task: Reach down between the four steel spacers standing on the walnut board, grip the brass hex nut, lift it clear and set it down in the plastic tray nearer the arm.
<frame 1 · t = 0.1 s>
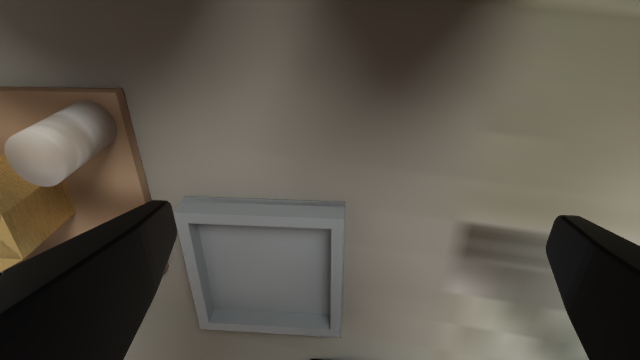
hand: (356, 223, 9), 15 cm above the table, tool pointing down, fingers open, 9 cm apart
tray: (269, 261, 29), on the table
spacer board: (38, 185, 28), on the table
nut: (30, 191, 27), point 1 cm above the table, touching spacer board
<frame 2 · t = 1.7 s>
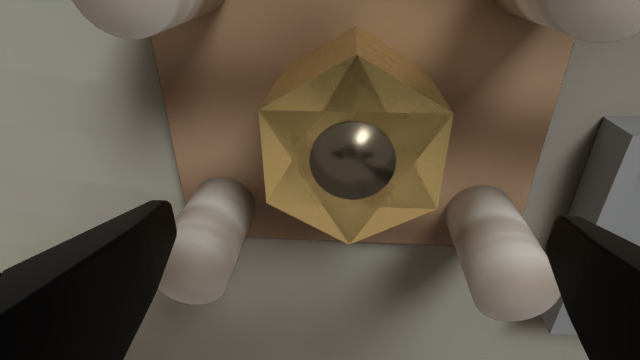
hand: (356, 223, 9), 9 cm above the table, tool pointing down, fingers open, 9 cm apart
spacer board: (352, 100, 17), on the table
nut: (352, 107, 16), point 1 cm above the table, touching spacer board
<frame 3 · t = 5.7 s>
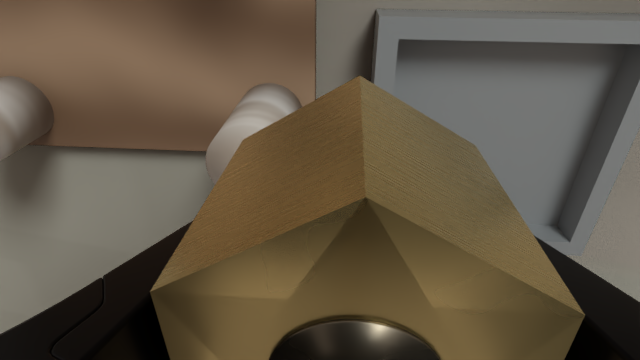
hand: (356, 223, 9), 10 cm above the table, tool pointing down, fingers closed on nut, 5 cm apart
tray: (481, 134, 19), on the table
nut: (354, 199, 10), point 9 cm above the table, touching gripper
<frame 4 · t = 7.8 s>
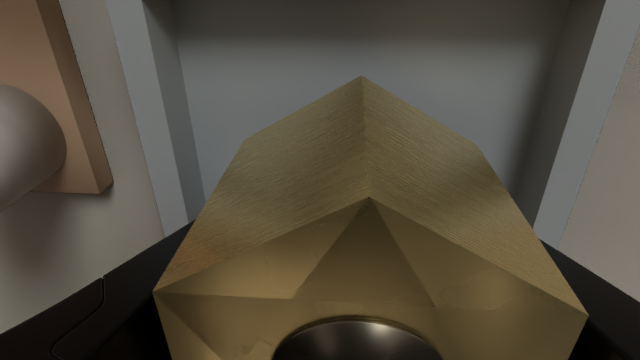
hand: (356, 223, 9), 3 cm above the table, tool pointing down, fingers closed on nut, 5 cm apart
tray: (355, 161, 12), on the table
nut: (355, 198, 10), point 2 cm above the table, touching gripper
when the fingers open (3 cm above the table, at t = 8.3 s): nut drops 2 cm, resting on tray.
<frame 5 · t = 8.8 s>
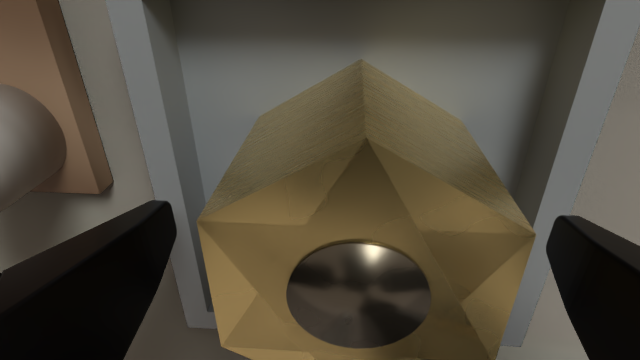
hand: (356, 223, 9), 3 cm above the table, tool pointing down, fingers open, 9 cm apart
tray: (355, 161, 12), on the table
nut: (356, 169, 12), point 1 cm above the table, touching tray
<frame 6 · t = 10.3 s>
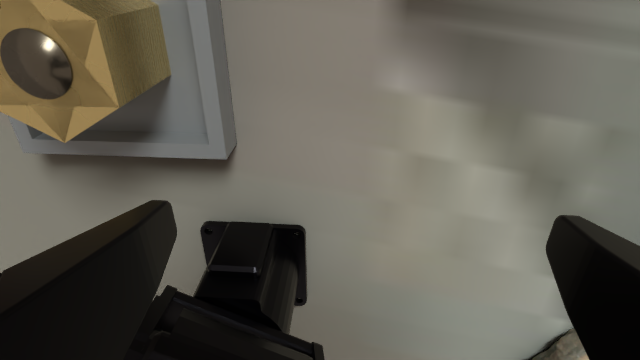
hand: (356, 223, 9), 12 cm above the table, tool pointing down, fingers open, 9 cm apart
tray: (116, 38, 20), on the table
nut: (109, 40, 19), point 1 cm above the table, touching tray
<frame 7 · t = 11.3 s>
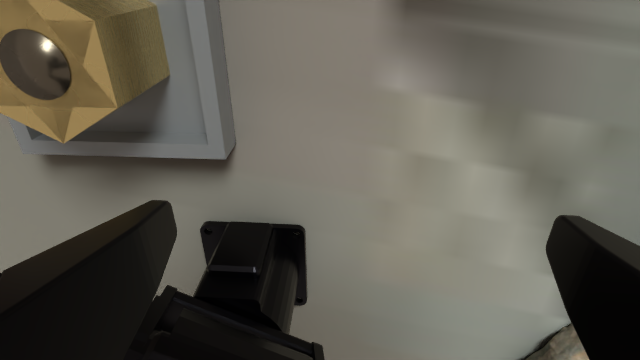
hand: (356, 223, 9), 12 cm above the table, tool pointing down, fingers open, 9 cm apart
tray: (114, 39, 20), on the table
nut: (108, 41, 19), point 1 cm above the table, touching tray
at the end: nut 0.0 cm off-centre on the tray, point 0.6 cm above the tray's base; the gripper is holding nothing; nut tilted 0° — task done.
